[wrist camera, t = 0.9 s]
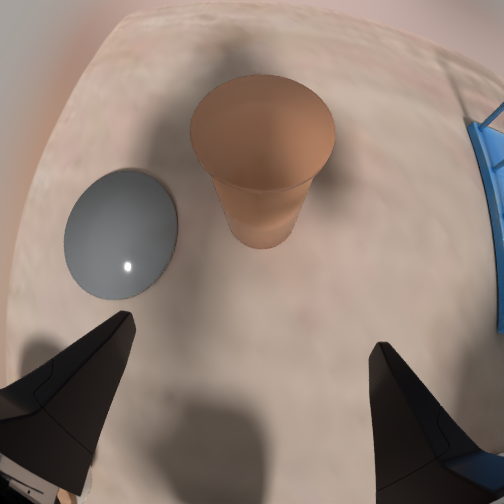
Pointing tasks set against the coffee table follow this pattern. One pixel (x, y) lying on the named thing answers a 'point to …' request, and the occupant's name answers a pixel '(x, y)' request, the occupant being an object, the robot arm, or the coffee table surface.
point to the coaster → (120, 235)
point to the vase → (262, 152)
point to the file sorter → (493, 188)
